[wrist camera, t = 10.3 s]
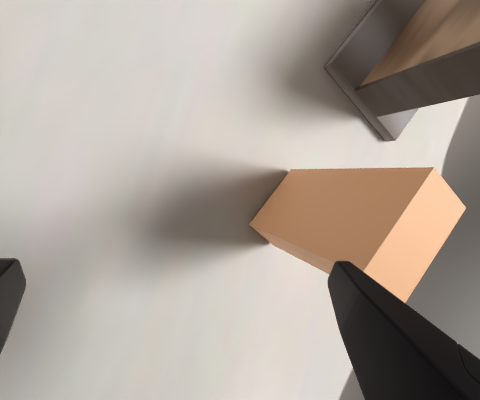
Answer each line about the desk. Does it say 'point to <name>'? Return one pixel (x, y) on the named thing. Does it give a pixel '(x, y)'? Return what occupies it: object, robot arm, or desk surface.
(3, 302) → the robot arm
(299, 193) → the block
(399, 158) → the desk surface
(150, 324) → the desk surface
